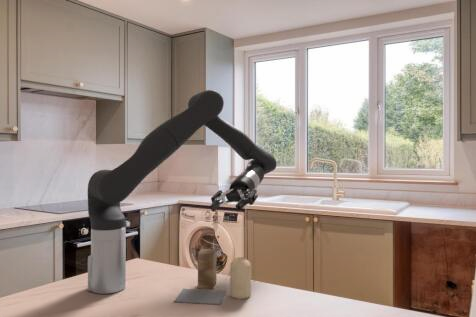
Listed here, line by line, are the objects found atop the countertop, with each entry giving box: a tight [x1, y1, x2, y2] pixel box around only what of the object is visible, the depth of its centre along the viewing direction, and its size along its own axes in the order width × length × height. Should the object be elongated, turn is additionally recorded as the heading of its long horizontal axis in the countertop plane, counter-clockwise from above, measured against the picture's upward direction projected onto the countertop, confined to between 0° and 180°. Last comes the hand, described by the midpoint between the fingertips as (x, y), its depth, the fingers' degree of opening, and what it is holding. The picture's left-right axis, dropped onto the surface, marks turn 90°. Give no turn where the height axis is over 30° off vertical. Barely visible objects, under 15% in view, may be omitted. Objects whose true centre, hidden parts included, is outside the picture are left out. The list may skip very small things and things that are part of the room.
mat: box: [173, 288, 227, 306], centre depth 102 cm, size 12×9×1 cm
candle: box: [229, 256, 252, 300], centre depth 104 cm, size 6×6×10 cm
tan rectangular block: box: [197, 248, 217, 290], centre depth 111 cm, size 4×5×10 cm
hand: (224, 208), depth 116 cm, fingers open, 8 cm apart
